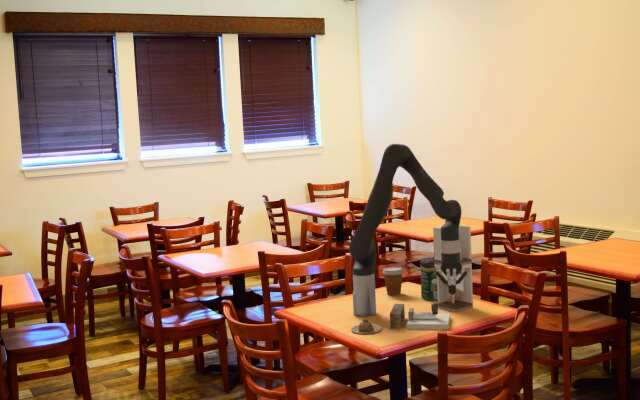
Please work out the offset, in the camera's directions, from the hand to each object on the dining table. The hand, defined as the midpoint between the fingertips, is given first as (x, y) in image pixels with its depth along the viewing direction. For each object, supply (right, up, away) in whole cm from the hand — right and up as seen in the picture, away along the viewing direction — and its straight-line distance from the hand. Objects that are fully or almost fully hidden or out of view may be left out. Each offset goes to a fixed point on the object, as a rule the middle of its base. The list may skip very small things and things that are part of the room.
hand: (452, 294), depth 307 cm
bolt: (-11, -10, +3) cm, 15 cm away
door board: (-9, -12, +3) cm, 15 cm away
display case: (+5, -9, +26) cm, 28 cm away
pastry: (-34, -15, -1) cm, 37 cm away
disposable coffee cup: (-18, -7, +56) cm, 59 cm away
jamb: (-21, -13, +6) cm, 25 cm away
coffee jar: (-2, -8, +44) cm, 44 cm away
